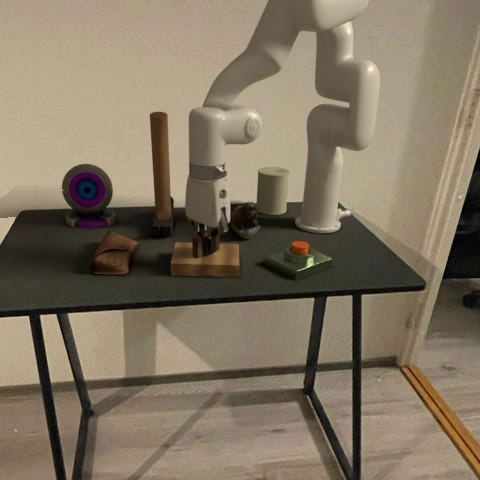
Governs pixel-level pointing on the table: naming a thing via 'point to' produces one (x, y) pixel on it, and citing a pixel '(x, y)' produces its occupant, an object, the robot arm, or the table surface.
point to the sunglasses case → (113, 255)
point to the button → (300, 247)
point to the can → (272, 190)
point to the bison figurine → (246, 220)
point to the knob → (201, 245)
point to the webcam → (88, 196)
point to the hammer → (161, 175)
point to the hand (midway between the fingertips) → (206, 251)
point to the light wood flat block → (205, 261)
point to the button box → (298, 262)
